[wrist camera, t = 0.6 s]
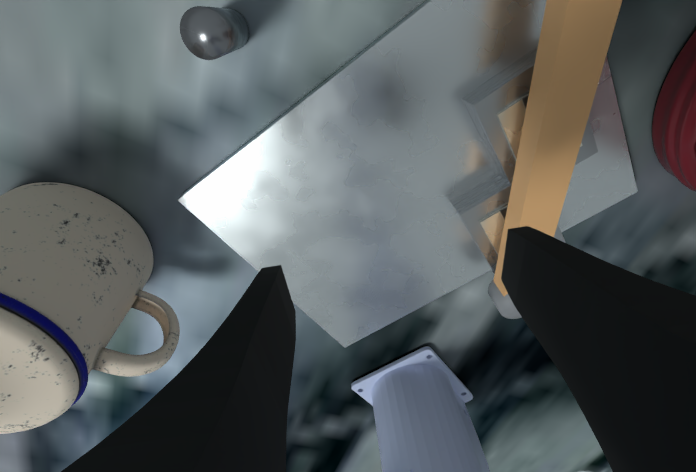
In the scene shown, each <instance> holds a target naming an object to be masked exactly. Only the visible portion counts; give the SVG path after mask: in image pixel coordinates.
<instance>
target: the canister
mask: <svg viewBox="0 0 696 472" xmlns="http://www.w3.org/2000/svg"><path fill="white" fill-rule="evenodd" d="M652 140H653V146H654V151H655V153H656V156H657V158H658V160H659V162H660V163H661V165H662V166H663V167H664V168H665V169H666V170H667V171H668V172H669V173H670V174H672V175H673V176H675V177H676V178H677V179H678V180H679V181H680V182H681V183H682V184H683V185H685V186H686V187H688V188H689V189H691V190H693V191H695V192H696V31H695V32H694V33H693V35H692V36H691V37H690V39H689V40H688V42H687V43H686V44H685V46H684V47H683V49H682V50H681V52H680V54H679V55H678V57H677V58H676V60H675V62H674V64H673V65H672V67H671V69H670V71H669V73H668V75H667V77H666V79H665V82H664V84H663V86H662V89H661V91H660V94H659V97H658V100H657V103H656V107H655V111H654V117H653V124H652Z"/></svg>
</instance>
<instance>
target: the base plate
mask: <svg viewBox="0 0 696 472" xmlns="http://www.w3.org/2000/svg"><path fill="white" fill-rule="evenodd" d="M546 1H547V0H426V1H425V2H423V3H422V4H421V5H420V6H418V7H417V8H416V9H415V10H413V11H412V12H411V13H409V14H408V15H407V16H406V17H404V18H403V19H402V20H401V21H399V22H398V23H397V24H396V25H394V26H393V27H392V28H391V29H389V30H388V31H387V32H385V33H384V34H383V35H382V36H380V37H379V38H378V39H377V40H375V41H374V42H373V43H372V44H370V45H369V46H368V47H367V48H365V49H364V50H363V51H361V52H360V53H359V54H358V55H356V56H355V57H354V58H353V59H351V60H350V61H349V62H348V63H346V64H345V65H344V66H343V67H341V68H340V69H339V70H337V71H336V72H335V73H334V74H332V75H331V76H330V77H329V78H327V79H326V80H325V81H324V82H322V83H321V84H320V85H319V86H317V87H316V88H315V89H313V90H312V91H311V92H310V93H308V94H307V95H306V96H305V97H303V98H302V99H301V100H300V101H298V102H297V103H296V104H295V105H293V106H292V107H291V108H289V109H288V110H287V111H286V112H284V113H283V114H282V115H281V116H279V117H278V118H277V119H276V120H274V121H273V122H272V123H271V124H269V125H268V126H267V127H265V128H264V129H263V130H262V131H260V132H259V133H258V134H257V135H255V136H254V137H253V138H252V139H250V140H249V141H248V142H247V143H245V144H244V145H243V146H241V147H240V148H239V149H238V150H236V151H235V152H234V153H233V154H231V155H230V156H229V157H228V158H226V159H225V160H224V161H223V162H221V163H220V164H219V165H217V166H216V167H215V168H214V169H212V170H211V171H210V172H209V173H207V174H206V175H205V176H204V177H202V178H201V179H200V180H199V181H197V182H196V183H195V184H193V185H192V186H191V187H190V188H188V189H187V190H186V191H185V192H183V194H182V195H181V196H180V198H179V199H178V201H179V202H180V203H181V204H182V205H184V206H185V207H186V208H187V209H188V210H189V211H190V212H191V213H193V214H194V215H195V216H196V217H197V218H198V219H199V220H201V221H202V222H203V223H204V224H205V225H206V226H207V227H208V228H210V229H211V230H212V231H213V232H214V233H215V234H216V235H218V236H219V237H220V238H221V239H222V240H223V241H224V242H225V243H227V244H228V245H229V246H230V247H231V248H232V249H233V250H235V251H236V252H237V253H238V254H239V255H240V256H241V257H242V258H244V259H245V260H246V261H247V262H248V263H249V264H250V265H252V266H253V267H254V268H255V269H256V270H257V271H258V272H259V271H260V270H261V269H262V268H265V267H271V266H277V265H281V266H282V270H283V273H284V276H285V279H286V283H287V286H288V289H289V292H290V296H291V299H292V302H294V303H295V304H296V305H297V306H298V307H299V308H300V309H301V310H303V311H304V312H305V313H306V314H307V315H308V316H309V317H311V318H312V319H313V320H314V321H315V322H316V323H317V324H318V325H320V326H321V327H322V328H323V329H324V330H325V331H326V332H328V333H329V334H330V335H331V336H332V337H333V338H334V339H335V340H337V341H338V342H339V343H340V344H341V345H342V346H343V347H347V346H349V345H351V344H353V343H355V342H356V341H358V340H360V339H362V338H364V337H366V336H368V335H370V334H371V333H373V332H375V331H377V330H379V329H381V328H383V327H385V326H386V325H388V324H390V323H392V322H394V321H396V320H398V319H400V318H401V317H403V316H405V315H407V314H409V313H411V312H413V311H415V310H417V309H418V308H420V307H422V306H424V305H426V304H428V303H430V302H432V301H433V300H435V299H437V298H439V297H441V296H443V295H445V294H447V293H448V292H450V291H452V290H454V289H456V288H458V287H460V286H462V285H463V284H465V283H467V282H469V281H471V280H473V279H475V278H477V277H478V276H480V275H482V274H484V273H486V272H488V271H490V270H492V271H493V272H494V274H495V270H496V265H497V260H498V254H499V249H500V244H501V238H502V233H503V228H504V223H505V217H506V212H507V207H508V202H509V196H510V191H511V186H512V180H513V175H514V170H515V165H516V159H517V154H518V149H519V144H520V138H521V133H522V128H523V122H524V117H525V112H526V107H527V101H528V96H529V91H530V86H531V80H532V75H533V70H534V64H535V59H536V54H537V49H538V43H539V38H540V33H541V28H542V22H543V17H544V12H545V6H546ZM180 33H181V37H182V40H183V42H184V44H185V45H186V47H187V48H188V49H189V50H190V51H191V52H192V53H193V54H194V55H196V56H197V57H199V58H202V59H205V60H213V59H216V58H219V57H221V56H223V55H226V54H228V53H230V52H233V51H235V50H237V49H239V48H241V47H243V46H244V45H245V44H246V43H247V41H248V38H249V27H248V24H247V22H246V20H245V18H244V17H243V16H242V15H241V14H240V13H239V12H238V11H236V10H233V9H228V8H215V7H202V6H197V7H193V8H190V9H189V10H187V11H186V12H185V13H184V15H183V16H182V19H181V22H180ZM636 192H638V191H637V186H636V182H635V178H634V173H633V169H632V164H631V160H630V155H629V151H628V147H627V142H626V138H625V133H624V129H623V125H622V120H621V116H620V111H619V107H618V103H617V98H616V94H615V89H614V85H613V81H612V76H611V72H610V67H609V63H608V58H607V55H606V59H605V62H604V65H603V69H602V72H601V76H600V79H599V83H598V86H597V90H596V93H595V97H594V100H593V104H592V107H591V110H590V114H589V117H588V121H587V124H586V128H585V131H584V135H583V138H582V142H581V145H580V148H579V152H578V155H577V159H576V162H575V166H574V169H573V173H572V176H571V180H570V183H569V187H568V190H567V193H566V197H565V200H564V204H563V207H562V211H561V214H560V218H559V221H558V225H557V228H556V231H555V235H554V238H556V239H558V240H560V241H562V242H564V243H566V242H565V240H564V237H563V235H562V233H561V232H563V231H565V230H567V229H569V228H571V227H572V226H574V225H576V224H578V223H580V222H582V221H584V220H586V219H587V218H589V217H591V216H593V215H595V214H597V213H599V212H601V211H602V210H604V209H606V208H608V207H610V206H612V205H614V204H616V203H617V202H619V201H621V200H623V199H625V198H627V197H629V196H631V195H632V194H634V193H636Z"/></svg>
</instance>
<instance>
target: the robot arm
mask: <svg viewBox="0 0 696 472" xmlns="http://www.w3.org/2000/svg"><path fill="white" fill-rule="evenodd" d="M501 280H502V282H503V284H504V286H505V288H506V290H507V293H508V295H509V296H510V298H511V300H512V302H513V304H514V306H515V308H516V309H517V311H518V312H519V314H520V315H521V316H522V318H523V319H524V321H525V322H526V324H527V325H528V327H529V328H530V330H531V331H532V332H533V334H534V335H535V337H536V338H537V340H538V341H539V343H540V344H541V345H542V347H543V348H544V350H545V351H546V353H547V354H548V355H549V357H550V358H551V360H552V361H553V363H554V364H555V366H556V367H557V369H558V370H559V372H560V373H561V375H562V376H563V378H564V380H565V381H566V383H567V385H568V387H569V388H570V390H571V392H572V394H573V396H574V397H575V399H576V401H577V403H578V405H579V406H580V408H581V410H582V412H583V414H584V415H585V417H586V419H587V421H588V423H589V425H590V427H591V429H592V431H593V433H594V435H595V437H596V438H597V440H598V442H599V444H600V446H601V448H602V450H603V452H604V454H605V456H606V458H607V460H608V462H609V465H610V467H611V469H612V471H613V472H696V296H695V295H692V294H689V293H686V292H683V291H680V290H677V289H674V288H671V287H669V286H666V285H663V284H660V283H657V282H655V281H652V280H649V279H647V278H644V277H641V276H639V275H637V274H634V273H632V272H629V271H627V270H624V269H622V268H620V267H617V266H615V265H612V264H610V263H608V262H606V261H603V260H601V259H599V258H597V257H594V256H592V255H590V254H588V253H586V252H584V251H581V250H579V249H577V248H575V247H573V246H571V245H569V244H567V243H564V242H562V241H560V240H558V239H556V238H554V237H552V236H550V235H547V234H545V233H543V232H541V231H539V230H536V229H534V228H531V227H529V226H524V227H518V228H511V229H508V233H507V240H506V247H505V254H504V261H503V269H502V276H501ZM295 341H296V320H295V309H294V305H293V302H292V299H291V296H290V292H289V289H288V286H287V283H286V279H285V276H284V273H283V270H282V266H281V265H277V266H271V267H265V268H262V269H261V270H260V271H259V273H258V274H257V276H256V277H255V278H254V280H253V281H252V283H251V284H250V286H249V287H248V289H247V290H246V292H245V293H244V295H243V296H242V297H241V299H240V300H239V302H238V303H237V305H236V306H235V307H234V309H233V310H232V311H231V313H230V314H229V316H228V317H227V318H226V320H225V321H224V322H223V323H222V325H221V326H220V327H219V328H218V330H217V331H216V332H215V333H214V335H213V336H212V337H211V338H210V340H209V341H208V342H207V343H206V345H205V346H204V347H203V348H202V349H201V350H200V351H199V352H198V354H197V355H196V356H195V357H194V358H193V359H192V360H191V361H190V362H189V363H188V364H187V365H186V366H185V367H184V368H183V370H182V371H181V372H180V373H179V374H178V375H177V376H176V377H175V378H173V379H172V380H171V381H170V382H169V383H168V384H167V385H166V386H165V387H164V388H163V389H162V390H161V391H160V392H159V393H157V394H156V395H155V396H154V397H153V398H152V399H151V400H150V401H149V402H148V403H147V404H146V405H145V406H143V407H142V408H141V409H140V410H139V411H138V412H136V413H135V414H134V415H133V416H132V417H131V418H129V419H128V420H127V421H126V422H125V423H124V424H122V425H121V426H120V427H119V428H117V429H116V430H115V431H114V432H112V433H111V434H110V435H109V436H108V437H106V438H105V439H104V440H103V441H101V442H100V443H99V444H97V445H96V446H95V447H94V448H92V449H91V450H90V451H88V452H87V453H86V454H84V455H83V456H82V457H80V458H79V459H78V460H76V461H75V462H73V463H72V464H71V465H69V466H68V467H67V468H65V469H64V470H63V471H61V472H286V430H287V412H288V402H289V394H290V385H291V377H292V368H293V360H294V351H295ZM351 386H352V390H354V391H355V392H356V393H357V394H359V395H360V396H361V397H362V398H364V399H365V400H366V401H367V402H369V403H370V404H371V405H372V406H373V409H374V416H375V423H376V430H377V436H378V443H379V450H380V457H381V464H382V471H383V472H490V470H489V466H488V463H487V460H486V458H485V455H484V452H483V450H482V447H481V444H480V442H479V439H478V437H477V434H476V431H475V429H474V426H473V424H472V421H471V418H470V416H469V413H468V411H467V408H466V405H465V403H466V402H468V401H470V400H472V399H473V396H472V393H471V392H470V391H469V390H468V389H467V388H466V386H465V385H464V384H463V383H462V382H461V381H460V380H459V379H458V377H457V376H456V375H455V374H454V373H453V372H452V371H451V370H450V369H449V367H448V366H447V365H446V364H445V363H444V362H443V361H442V360H441V359H440V357H439V356H438V355H437V354H436V353H435V352H434V351H433V350H432V348H430V347H428V346H426V347H423V348H421V349H419V350H416V351H414V352H412V353H410V354H408V355H406V356H404V357H402V358H400V359H398V360H396V361H394V362H392V363H390V364H388V365H386V366H384V367H382V368H380V369H378V370H376V371H374V372H372V373H370V374H368V375H366V376H364V377H362V378H360V379H358V380H356V381H354V382H353V383H352V384H351Z"/></svg>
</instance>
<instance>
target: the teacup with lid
mask: <svg viewBox="0 0 696 472" xmlns="http://www.w3.org/2000/svg"><path fill="white" fill-rule="evenodd" d="M152 269H153V251H152V247H151V244H150V242H149V240H148V238H147V236H146V234H145V232H144V231H143V229H142V228H141V227H140V225H139V224H138V223H137V222H136V221H135V220H134V218H133V217H132V216H131V215H129V214H128V213H127V212H126V211H125V210H124V209H122V208H121V207H120V206H118V205H117V204H115V203H114V202H112V201H111V200H109V199H107V198H105V197H103V196H101V195H99V194H97V193H95V192H93V191H90V190H87V189H84V188H81V187H78V186H74V185H69V184H64V183H54V182H39V183H31V184H26V185H23V186H20V187H17V188H14V189H12V190H10V191H8V192H6V193H5V194H3V195H1V196H0V434H6V433H14V432H19V431H25V430H29V429H32V428H36V427H38V426H41V425H44V424H46V423H48V422H50V421H52V420H54V419H55V418H57V417H59V416H60V415H62V414H63V413H64V412H65V411H67V410H68V409H69V408H70V407H71V406H72V405H73V404H75V403H76V402H77V401H78V400H79V399H80V397H81V396H82V394H83V393H84V391H85V388H86V386H87V382H88V374H89V373H90V371H91V370H92V369H94V370H98V371H102V372H105V373H109V374H113V375H119V376H140V375H145V374H148V373H151V372H153V371H155V370H157V369H159V368H161V367H162V366H163V365H164V364H166V362H167V361H168V360H169V359H170V358H171V356H172V354H173V353H174V351H175V349H176V346H177V344H178V340H179V333H180V329H179V322H178V319H177V316H176V314H175V312H174V311H173V309H172V308H171V307H170V306H169V305H168V304H167V303H166V302H165V301H163V300H162V299H160V298H159V297H157V296H154V295H152V294H150V293H147V292H145V291H142V289H143V287H144V286H145V284H146V282H147V281H148V279H149V277H150V275H151V272H152ZM130 308H135V309H138V310H140V311H143V312H145V313H147V314H149V315H151V316H152V317H154V318H155V319H156V320H157V321H158V322H159V324H160V326H161V328H162V331H163V335H164V342H163V346H162V347H161V348H159V349H158V350H156V351H154V352H152V353H148V354H144V355H130V354H125V353H120V352H117V351H113V350H110V349H107V348H105V347H106V346H107V344H108V343H109V341H110V339H111V338H112V336H113V335H114V333H115V331H116V330H117V328H118V327H119V325H120V324H121V322H122V320H123V319H124V317H125V316H126V314H127V312H128V311H129V309H130Z"/></svg>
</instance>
